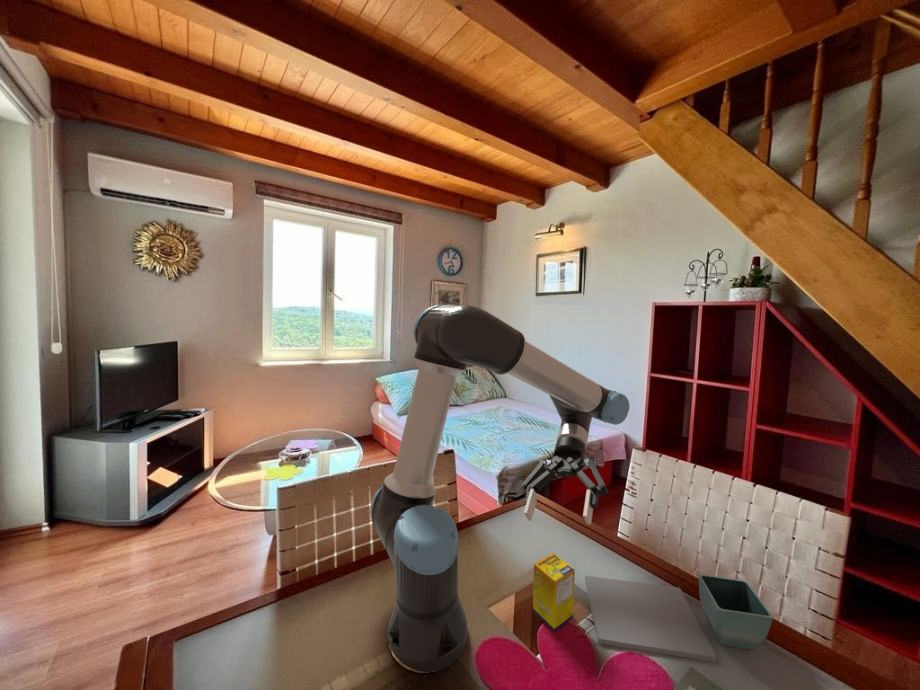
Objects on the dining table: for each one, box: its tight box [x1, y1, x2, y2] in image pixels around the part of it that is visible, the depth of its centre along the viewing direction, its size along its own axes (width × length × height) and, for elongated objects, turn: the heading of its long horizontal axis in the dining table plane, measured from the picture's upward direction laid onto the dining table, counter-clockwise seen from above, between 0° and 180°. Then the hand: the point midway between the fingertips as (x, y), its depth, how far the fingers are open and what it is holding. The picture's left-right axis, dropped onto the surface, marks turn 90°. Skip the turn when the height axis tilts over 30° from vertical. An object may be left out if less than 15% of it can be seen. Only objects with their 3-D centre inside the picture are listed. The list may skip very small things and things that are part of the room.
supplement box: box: [532, 552, 576, 632], centre depth 74 cm, size 6×6×11 cm
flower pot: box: [698, 574, 774, 650], centre depth 69 cm, size 9×9×9 cm
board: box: [584, 575, 717, 663], centre depth 74 cm, size 20×16×1 cm
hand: (555, 518), depth 79 cm, fingers open, 13 cm apart
